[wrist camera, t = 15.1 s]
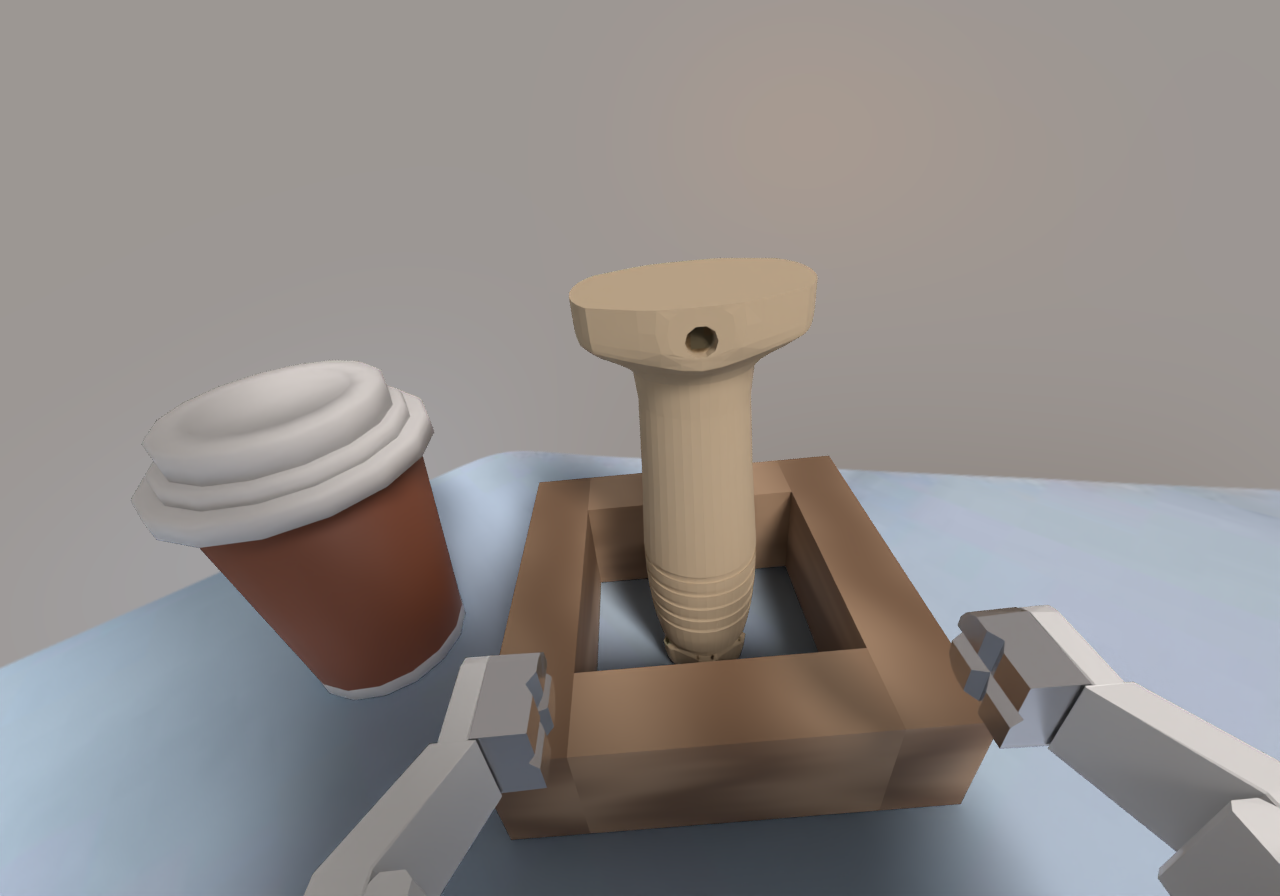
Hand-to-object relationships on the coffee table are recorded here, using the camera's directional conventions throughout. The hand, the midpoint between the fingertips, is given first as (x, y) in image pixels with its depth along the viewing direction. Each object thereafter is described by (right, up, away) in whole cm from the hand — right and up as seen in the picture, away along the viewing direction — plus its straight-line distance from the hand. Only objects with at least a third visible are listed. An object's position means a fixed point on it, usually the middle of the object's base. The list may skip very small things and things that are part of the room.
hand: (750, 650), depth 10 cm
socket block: (+1, -4, +11) cm, 12 cm away
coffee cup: (-13, -5, +13) cm, 20 cm away
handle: (+1, -4, +11) cm, 12 cm away
